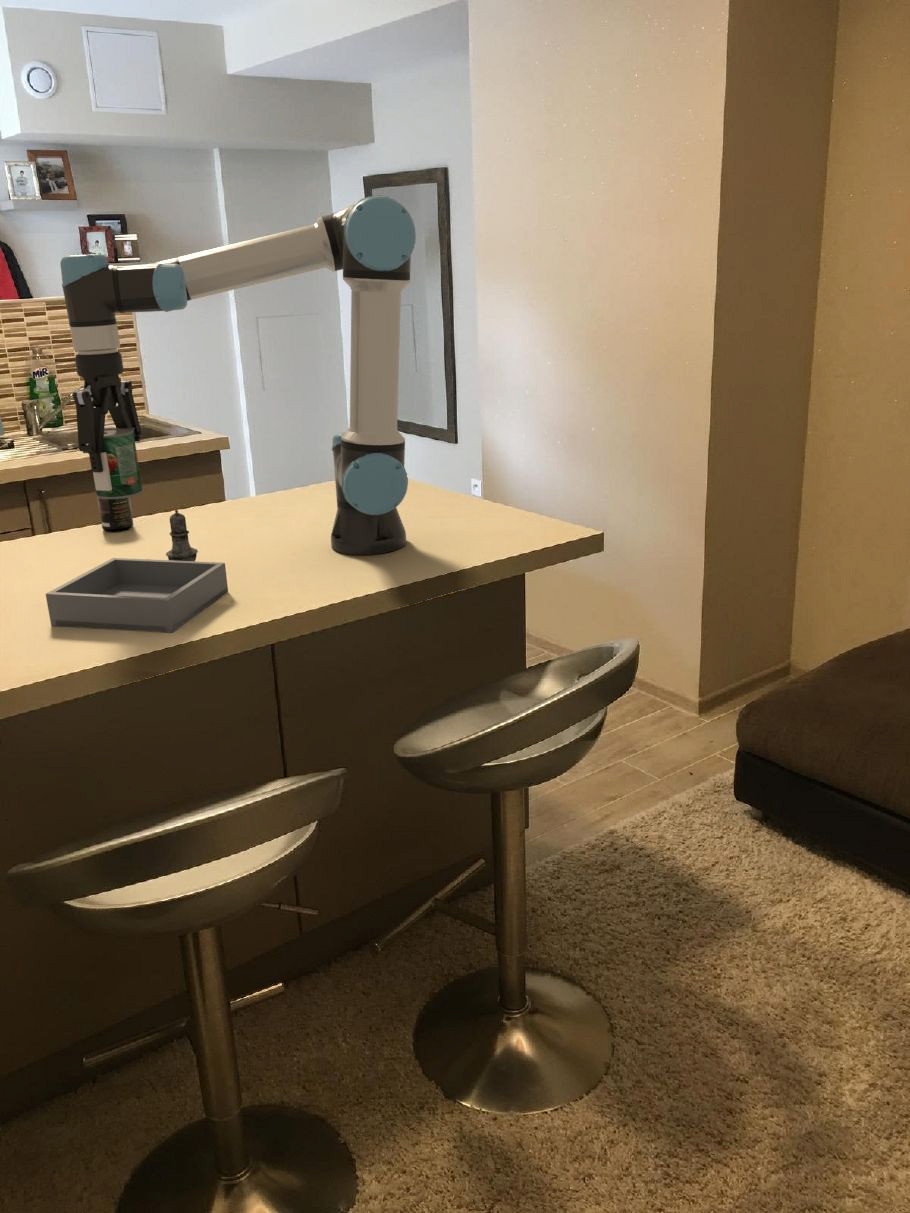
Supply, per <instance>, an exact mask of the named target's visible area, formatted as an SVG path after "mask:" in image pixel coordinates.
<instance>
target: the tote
mask: <svg viewBox="0 0 910 1213" xmlns="http://www.w3.org/2000/svg"><path fill="white" fill-rule="evenodd" d="M226 569H227V568H226V563H225V562H216V561H215V562H214V561H197V560H195V561H173V560H169V559H146V558H125V557H124V558H123V557H112V558H110V559H108V560H107V561H105V562H103V563H100V564H98V565H97V566H95V567H93V568H91V569H90V570H88V571H86V572H84V573H82V574H80V575H78V576H75V577H74V578H73V579H71V580H69V581H67V582H65V583H63V584H61V585H60V586H57V587H56V588H54V589H52V590H50V591H48V592H46V593H45V599H46V605H47V610H48V614H49V615H48V616H49V621H50V622H49V623H50V626H52V627H53V626H54V627H68V628H71V627H72V628H84V629H85V628H86V629H87V628H88V629H101V630H103V629H104V630H117V631H118V630H119V631H134V632H149V633H151V632H152V633H162V634H163V633H166V634H173V633H174V632H176V631H177V630H178V629H180V628H181V627H182V626H184V625H185V624H187V623H188V622H190V621H191V620H193V618H195V617H197V616H198V615H199V614H201V613H202V612H204V611H205V610H206V609H207V608H209V607H210V606H212V605H213V604H214V603H216V602H217V601H219V600H220V599H221V598H222V597H224V596H226V595H227V594H228V593H229V586H228V579H227V571H226Z"/></svg>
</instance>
